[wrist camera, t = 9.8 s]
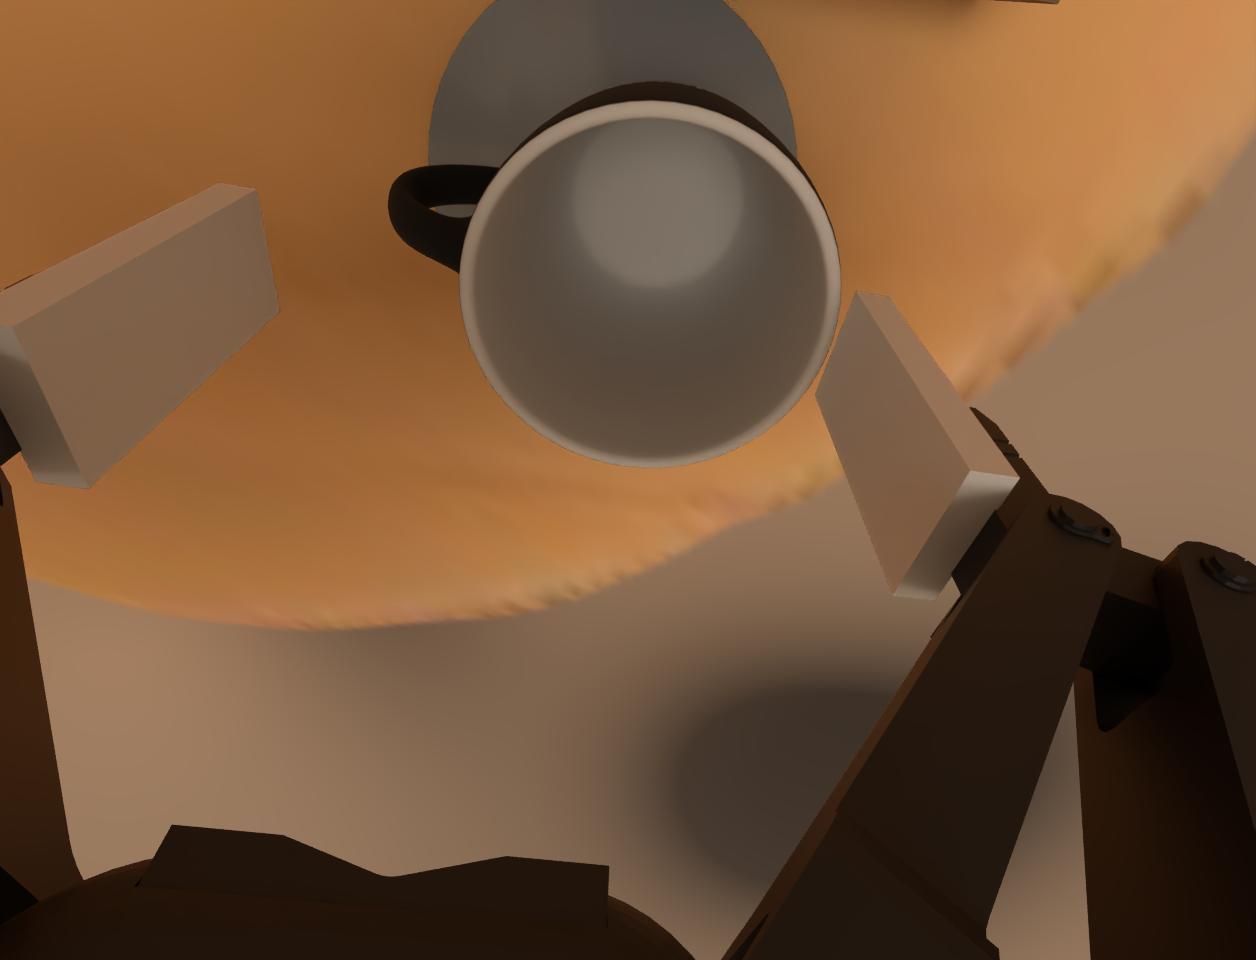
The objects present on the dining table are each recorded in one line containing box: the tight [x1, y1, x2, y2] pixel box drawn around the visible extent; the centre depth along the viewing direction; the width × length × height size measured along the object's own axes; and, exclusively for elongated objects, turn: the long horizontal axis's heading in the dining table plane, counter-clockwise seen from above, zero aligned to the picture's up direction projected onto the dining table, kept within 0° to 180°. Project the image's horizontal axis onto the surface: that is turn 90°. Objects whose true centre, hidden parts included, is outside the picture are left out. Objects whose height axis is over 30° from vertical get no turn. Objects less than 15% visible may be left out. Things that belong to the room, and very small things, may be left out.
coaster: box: [428, 0, 796, 218], centre depth 23 cm, size 13×13×1 cm
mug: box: [388, 80, 841, 468], centre depth 19 cm, size 12×9×10 cm
